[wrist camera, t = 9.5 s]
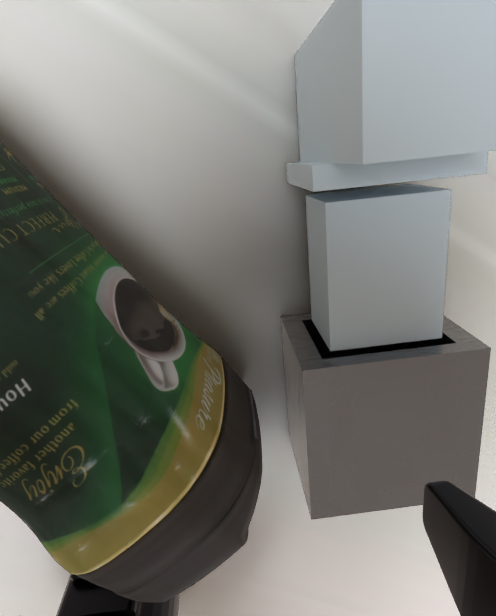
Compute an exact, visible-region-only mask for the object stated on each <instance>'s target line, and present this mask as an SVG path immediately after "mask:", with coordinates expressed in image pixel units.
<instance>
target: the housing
mask: <svg viewBox="0 0 496 616" xmlns="http://www.w3.org/2000/svg"><path fill="white" fill-rule="evenodd" d="M280 318H281V331H282V344H283V357H284V370H285V384H286V397H287V410H288V423H289V436H290V440H291V444H292V448H293V452H294V456H295V459H296V463H297V467H298V471H299V475H300V478H301V482H302V486H303V490H304V494H305V497H306V501H307V505H308V509H309V513H310V516H311V519H319V518H326V517H334V516H341V515H349V514H356V513H364V512H371V511H379V510H387V509H394V508H402V507H409V506H417V505H423V499H424V487H425V485H426V484H427V483H429V482H437V481H449V482H451V483H452V484H454V485H455V486H457V487H459V488H460V489H462V490H463V491H465V492H466V493H468V494H469V495H471V496H472V497H474V498H475V491H476V482H477V472H478V463H479V454H480V444H481V435H482V425H483V416H484V407H485V397H486V388H487V379H488V369H489V360H490V350H491V348H490V347H489V346H487V345H486V344H484V343H483V342H481V341H480V340H478V339H477V338H476V337H474V336H473V335H471V334H470V333H468V332H467V331H465V330H464V329H462V328H461V327H460V326H458V325H457V324H455V323H454V322H452V321H451V320H449V319H448V318H447V317H445V316H444V315H443V331H442V338H438V339H429V340H421V341H413V342H404V343H396V344H387V345H379V346H371V347H362V348H354V349H346V350H337V351H330V350H329V348H328V346H327V345H326V343H325V341H324V340H323V338H322V336H321V335H320V333H319V331H318V330H317V328H316V326H315V324H314V323H313V321H312V315H311V313H307V314H298V315H289V316H281V317H280Z"/></svg>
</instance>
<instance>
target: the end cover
mask: <svg viewBox="0 0 496 616" xmlns="http://www.w3.org/2000/svg"><path fill="white" fill-rule="evenodd" d="M295 74H296V93H297V112H298V131H299V151H300V162H295V163H286V170H287V183H289V184H292V185H295V186H298V187H301V188H304V189H306V190H309V191H312V192H316V191H326V190H335V189H345V188H354V187H364V186H373V185H382V184H392V183H401V182H411V181H420V180H429V179H439V178H448V177H458V176H467V175H477V174H486V171H487V160H488V151H496V0H335V2H334V3H333V4H332V6H331V7H330V8H329V10H328V11H327V12H326V14H325V15H324V16H323V18H322V19H321V20H320V22H319V23H318V24H317V26H316V27H315V28H314V30H313V31H312V32H311V34H310V35H309V36H308V38H307V39H306V40H305V42H304V43H303V44H302V46H301V47H300V48H299V50H298V51H297V52H296V54H295ZM450 204H451V189H444V188H436V187H428V186H421V185H413V184H404V185H395V186H386V187H376V188H367V189H357V190H348V191H339V192H329V193H320V194H310V195H306V213H307V234H308V254H309V274H310V295H311V315H312V321H313V323H314V324H315V326H316V328H317V330H318V331H319V333H320V335H321V336H322V338H323V340H324V341H325V343H326V345H327V346H328V348H329V350H330V351H337V350H346V349H354V348H362V347H371V346H379V345H387V344H396V343H404V342H413V341H421V340H429V339H438V338H442V331H443V315H444V299H445V283H446V268H447V252H448V236H449V220H450Z"/></svg>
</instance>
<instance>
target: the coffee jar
mask: <svg viewBox="0 0 496 616" xmlns="http://www.w3.org/2000/svg"><path fill="white" fill-rule="evenodd" d="M261 476H262V448H261V435H260V426H259V419H258V414H257V409H256V404H255V400H254V397H253V394H252V391H251V390H250V389H249V388H248V387H247V385H246V384H245V383H244V382H243V381H242V380H241V379H240V377H239V376H238V375H237V374H236V373H235V371H234V370H233V369H232V368H231V367H230V366H229V365H228V364H227V362H226V361H225V360H224V359H223V358H221V357H220V356H219V354H218V353H217V352H215V351H214V350H213V349H212V348H211V347H210V346H208V345H207V344H206V343H205V342H203V341H202V340H201V339H199V338H198V337H197V336H196V335H194V334H193V333H192V332H191V331H190V330H188V329H187V328H186V327H185V326H184V325H182V324H181V323H180V322H179V321H178V320H177V319H176V318H175V317H173V316H172V315H171V314H170V313H169V312H168V311H167V310H166V309H165V308H164V307H163V306H162V305H161V304H160V303H159V302H158V301H156V300H155V299H154V298H153V297H152V296H151V295H150V294H149V293H148V292H147V291H146V290H145V289H144V288H143V287H142V286H141V285H140V284H139V283H138V282H137V281H136V280H135V279H134V278H133V277H132V276H131V275H130V274H129V272H128V271H127V270H126V269H125V268H124V267H123V266H122V265H121V264H120V263H119V262H118V261H117V260H116V259H115V258H114V257H113V256H112V255H111V254H110V253H109V252H108V251H107V250H106V249H105V248H104V247H103V246H102V245H101V244H100V243H99V242H98V241H97V240H96V239H95V238H94V237H93V236H92V235H91V234H90V233H89V232H88V231H87V230H86V229H85V228H84V227H83V226H82V225H81V224H80V223H79V222H78V221H77V220H76V219H75V218H74V217H73V216H72V215H71V214H70V213H69V212H68V211H67V210H66V209H65V208H64V207H63V206H62V205H61V204H60V203H59V202H58V201H57V200H56V199H55V198H54V197H53V196H52V195H51V194H50V193H49V192H48V191H47V190H46V188H45V187H44V186H42V184H41V183H40V182H39V181H38V180H37V179H36V178H35V177H34V176H33V175H32V174H31V173H30V172H29V171H28V170H27V169H26V168H25V167H24V166H23V165H22V164H21V163H20V162H19V161H18V160H17V158H16V157H15V156H14V155H13V154H12V153H11V152H10V151H9V150H8V149H7V148H6V147H5V146H4V145H3V144H2V143H1V142H0V501H1V502H2V503H3V504H5V505H6V506H7V507H8V508H10V509H11V510H12V511H13V512H14V513H15V514H17V515H18V516H19V517H20V518H21V519H22V520H23V521H24V522H25V523H26V524H27V526H28V527H29V528H30V529H31V530H32V531H33V532H34V534H35V535H36V536H37V537H38V539H39V540H40V542H41V543H42V544H43V546H44V547H45V548H46V550H47V551H48V552H49V553H50V555H51V556H52V557H53V558H54V560H55V561H56V562H58V563H59V564H60V565H61V566H62V567H63V568H64V569H65V570H67V571H68V572H69V573H71V574H75V575H77V576H78V577H80V578H83V579H85V580H87V581H89V582H91V583H93V584H95V585H98V586H100V587H103V588H106V589H109V590H111V591H113V592H114V593H116V594H117V595H120V596H123V597H126V598H128V599H131V600H135V601H140V602H157V603H159V602H165V601H167V600H169V599H171V598H172V597H174V596H176V595H178V594H179V593H181V592H182V591H184V590H185V589H187V588H189V587H190V586H192V585H193V584H195V583H196V582H198V581H199V580H201V579H202V578H203V577H205V576H206V575H207V574H209V573H210V572H211V571H213V570H214V569H215V568H217V567H218V566H219V565H221V564H222V563H223V562H224V561H225V560H227V559H228V558H229V557H230V556H232V555H233V554H234V553H235V552H236V551H237V550H239V549H240V548H241V547H242V546H243V545H244V544H245V543H246V541H247V538H248V527H249V524H250V521H251V518H252V516H253V513H254V509H255V506H256V502H257V498H258V493H259V489H260V484H261Z"/></svg>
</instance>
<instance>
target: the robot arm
mask: <svg viewBox="0 0 496 616" xmlns="http://www.w3.org/2000/svg"><path fill="white" fill-rule="evenodd" d="M423 523H424V527H425V530H426V532H427V535H428V537H429V540H430V542H431V545H432V547H433V549H434V552H435V554H436V557H437V559H438V562H439V564H440V567H441V569H442V572H443V574H444V576H445V579H446V581H447V584H448V586H449V589H450V591H451V594H452V596H453V599H454V601H455V603H456V606H457V608H458V610H459V613H460V615H461V616H496V511H494V510H492V509H491V508H489V507H488V506H486V505H485V504H483V503H482V502H480V501H479V500H477V499H476V498H474V497H472V496H471V495H469V494H468V493H466V492H465V491H463V490H462V489H460V488H459V487H457V486H455V485H454V484H452V483H451V482H449V481H437V482H429V483H427V484H426V485H425V487H424V499H423ZM193 585H194V584H193ZM179 594H180V593H179ZM179 594H178V595H176V596H174V597H172V598H171V599H169V600H167V601H165V602H159V603H157V602H140V601H135V600H131V599H128V598H126V597H123V596H120V595H117V594H116V593H114V592H113V591H111V590H109V589H106V588H103V587H100V586H98V585H95V584H93V583H91V582H89V581H87V580H85V579H83V578H80V577H78V576H77V575H75V574H71V575H70V578H69V581H68V584H67V586H66V589H65V592H64V595H63V598H62V601H61V604H60V606H59V609H58V612H57V615H56V616H178V606H179Z"/></svg>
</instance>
